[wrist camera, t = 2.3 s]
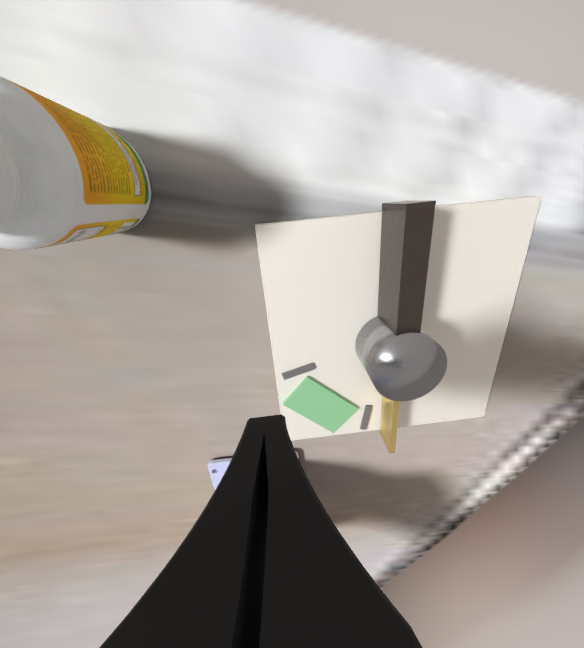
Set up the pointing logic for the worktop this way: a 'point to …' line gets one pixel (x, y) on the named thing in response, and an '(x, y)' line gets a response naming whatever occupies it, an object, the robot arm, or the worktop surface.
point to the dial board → (362, 305)
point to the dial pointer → (401, 315)
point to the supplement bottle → (63, 174)
